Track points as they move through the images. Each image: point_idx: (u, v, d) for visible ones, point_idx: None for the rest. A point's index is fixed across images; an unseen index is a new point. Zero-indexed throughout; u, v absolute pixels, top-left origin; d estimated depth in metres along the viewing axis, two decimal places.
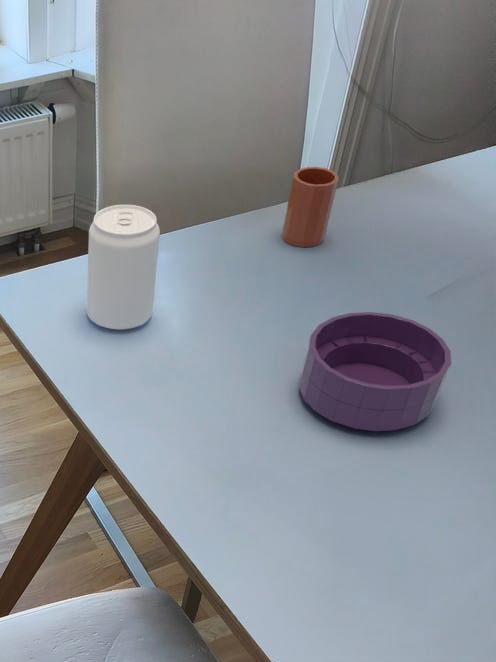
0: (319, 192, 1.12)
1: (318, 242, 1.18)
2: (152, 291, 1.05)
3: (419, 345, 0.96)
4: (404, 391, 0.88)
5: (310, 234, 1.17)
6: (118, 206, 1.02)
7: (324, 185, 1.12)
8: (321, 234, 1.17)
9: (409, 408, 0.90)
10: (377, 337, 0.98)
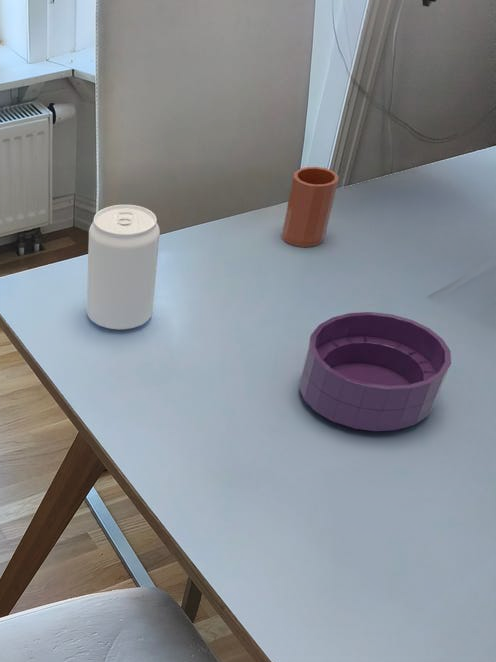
0: (319, 192, 1.12)
1: (318, 242, 1.18)
2: (152, 291, 1.05)
3: (419, 345, 0.96)
4: (404, 391, 0.88)
5: (310, 234, 1.17)
6: (118, 206, 1.02)
7: (324, 185, 1.12)
8: (321, 234, 1.17)
9: (409, 408, 0.90)
10: (377, 337, 0.98)
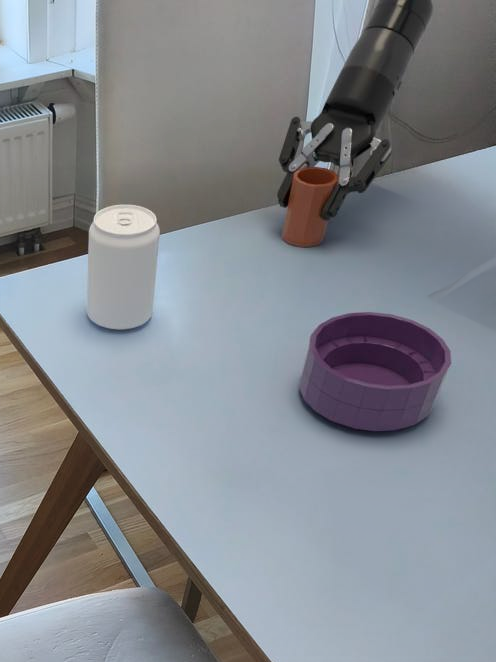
0: (319, 192, 1.12)
1: (318, 242, 1.18)
2: (152, 291, 1.05)
3: (419, 345, 0.96)
4: (404, 391, 0.88)
5: (310, 234, 1.17)
6: (118, 206, 1.02)
7: (324, 185, 1.12)
8: (321, 234, 1.17)
9: (409, 408, 0.90)
10: (377, 337, 0.98)
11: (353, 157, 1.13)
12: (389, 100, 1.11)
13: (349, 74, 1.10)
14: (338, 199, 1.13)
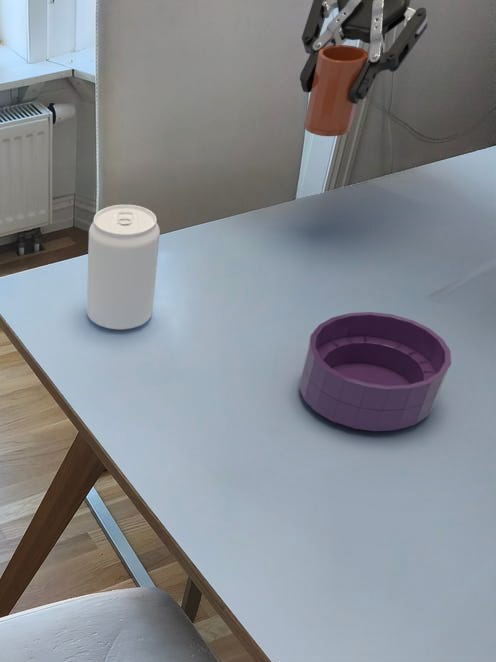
0: (347, 69, 1.02)
1: (345, 131, 1.07)
2: (152, 291, 1.05)
3: (419, 345, 0.96)
4: (404, 391, 0.88)
5: (336, 121, 1.06)
6: (118, 206, 1.02)
7: (352, 61, 1.01)
8: (348, 120, 1.06)
9: (409, 408, 0.90)
10: (377, 337, 0.98)
11: (384, 31, 1.02)
12: None
13: None
14: (368, 78, 1.02)
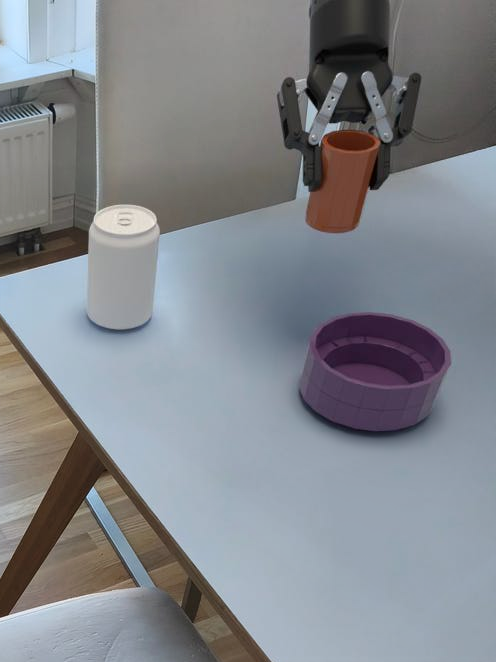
0: (372, 157, 0.87)
1: None
2: (152, 291, 1.05)
3: (419, 345, 0.96)
4: (404, 391, 0.88)
5: (358, 213, 0.91)
6: (118, 206, 1.02)
7: (376, 147, 0.87)
8: None
9: (409, 408, 0.90)
10: (377, 337, 0.98)
11: None
12: None
13: (346, 6, 0.85)
14: (387, 160, 0.88)
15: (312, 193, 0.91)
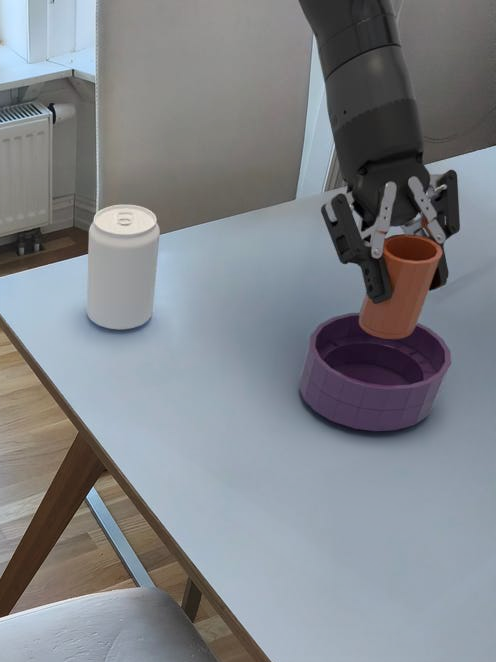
0: (438, 263, 0.84)
1: None
2: (152, 291, 1.05)
3: (419, 345, 0.96)
4: (404, 391, 0.88)
5: None
6: (118, 206, 1.02)
7: (440, 252, 0.83)
8: None
9: (409, 408, 0.90)
10: (377, 337, 0.98)
11: None
12: None
13: (387, 115, 0.80)
14: (444, 260, 0.86)
15: (373, 303, 0.87)
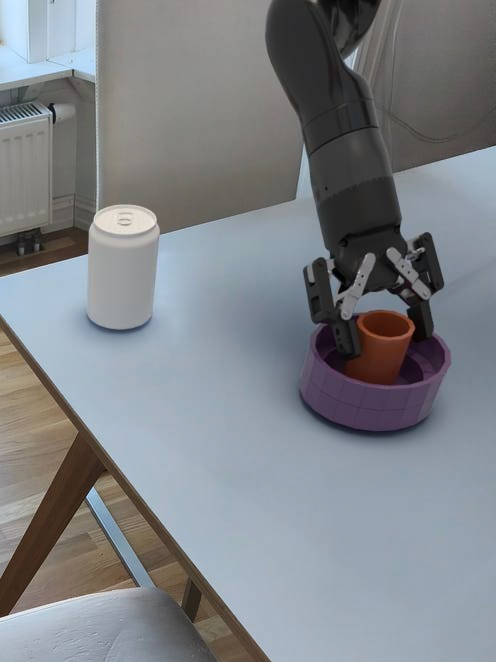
0: (411, 338, 0.90)
1: None
2: (152, 291, 1.05)
3: (419, 345, 0.96)
4: (404, 391, 0.88)
5: (395, 383, 0.94)
6: (118, 206, 1.02)
7: (413, 328, 0.90)
8: None
9: (409, 408, 0.90)
10: None
11: None
12: None
13: (365, 193, 0.86)
14: (429, 314, 0.91)
15: (351, 373, 0.93)
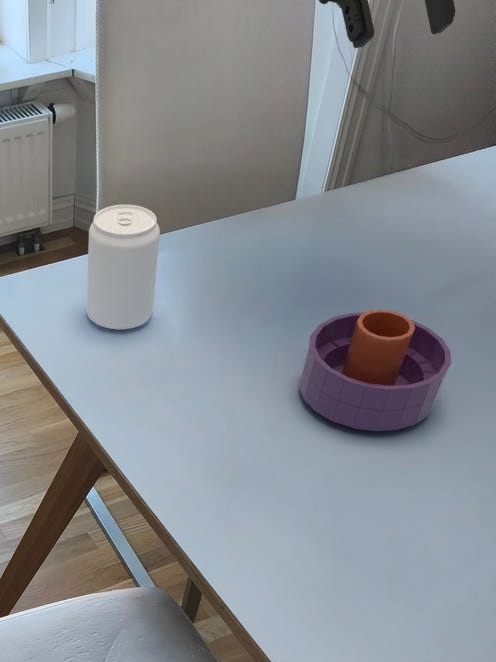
0: (411, 338, 0.90)
1: None
2: (152, 291, 1.05)
3: (419, 345, 0.96)
4: (404, 391, 0.88)
5: (395, 383, 0.94)
6: (118, 206, 1.02)
7: (413, 328, 0.90)
8: None
9: (409, 408, 0.90)
10: None
11: None
12: None
13: None
14: None
15: (351, 373, 0.93)
